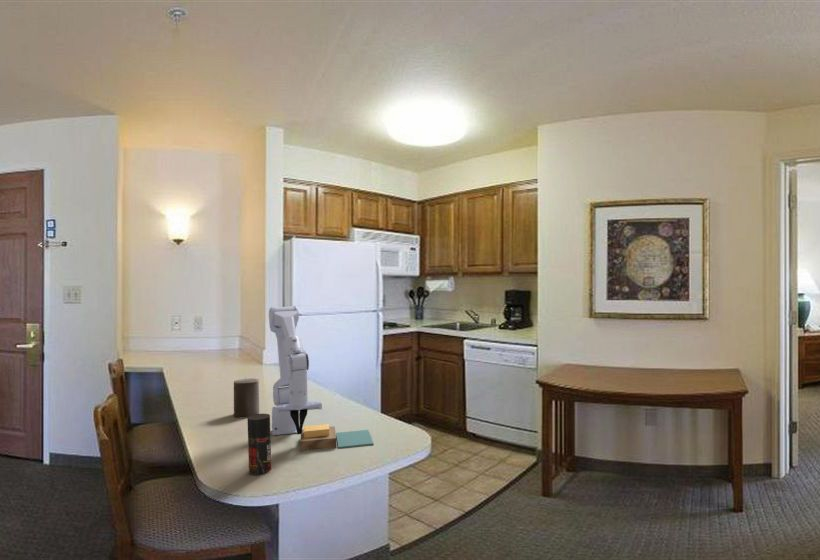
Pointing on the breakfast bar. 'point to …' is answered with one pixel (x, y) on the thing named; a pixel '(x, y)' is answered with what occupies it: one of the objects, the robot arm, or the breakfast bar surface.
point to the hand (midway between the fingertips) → (299, 433)
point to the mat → (354, 439)
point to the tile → (316, 430)
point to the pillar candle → (246, 397)
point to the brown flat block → (318, 441)
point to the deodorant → (259, 444)
